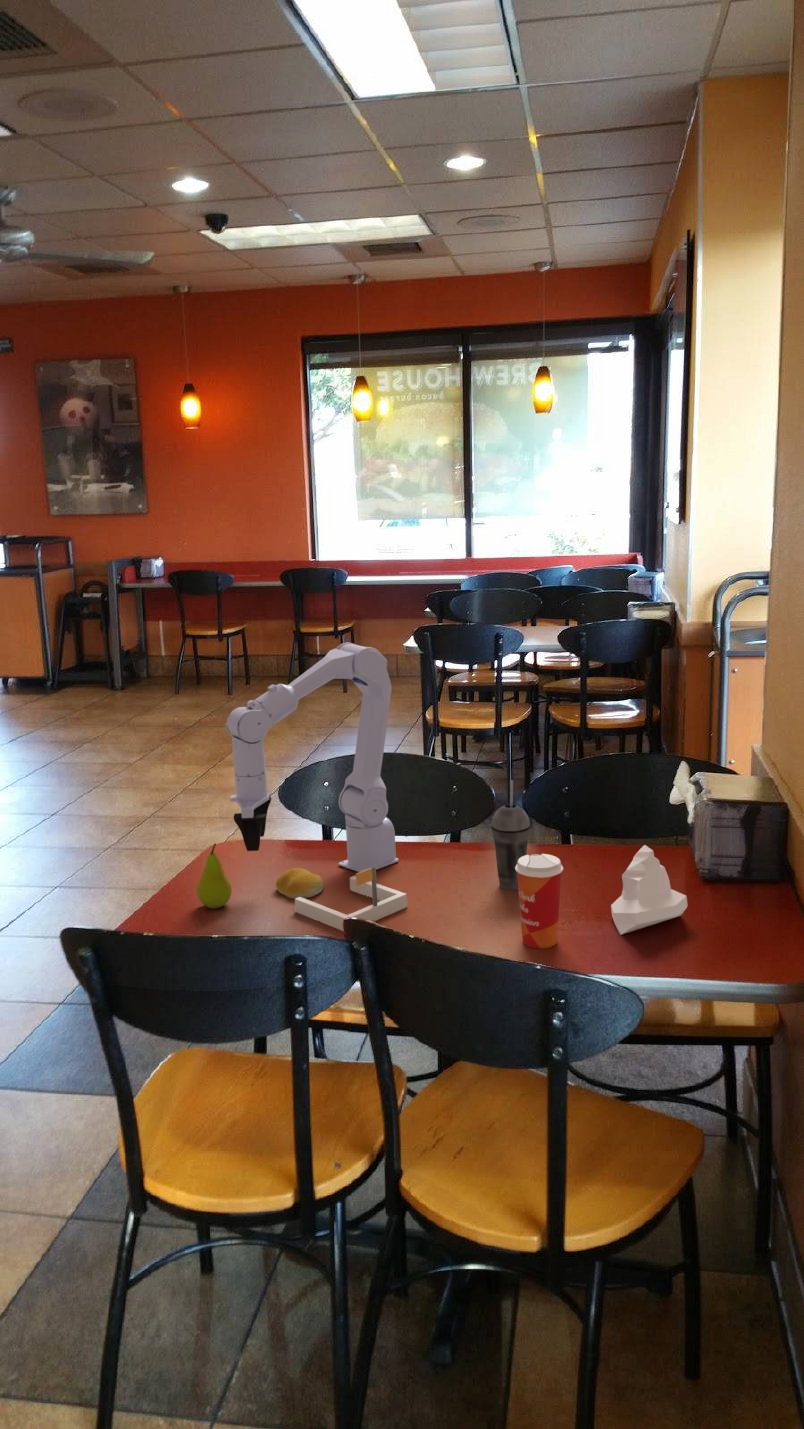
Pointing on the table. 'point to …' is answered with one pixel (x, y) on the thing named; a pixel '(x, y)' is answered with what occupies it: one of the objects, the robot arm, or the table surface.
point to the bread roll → (299, 883)
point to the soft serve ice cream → (646, 895)
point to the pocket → (362, 885)
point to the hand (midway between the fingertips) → (255, 843)
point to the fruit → (213, 884)
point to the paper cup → (539, 899)
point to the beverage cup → (510, 841)
